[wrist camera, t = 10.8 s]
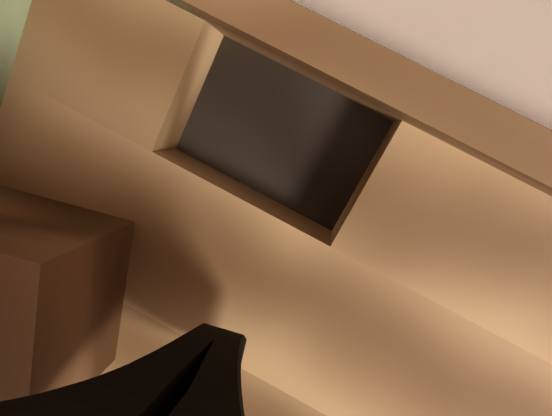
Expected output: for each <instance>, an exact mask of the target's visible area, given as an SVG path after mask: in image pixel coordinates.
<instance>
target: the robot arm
mask: <svg viewBox="0 0 552 416" xmlns="http://www.w3.org/2000/svg"><path fill="white" fill-rule="evenodd" d="M246 341H247V339H246V337H245V336H244V335H243V334H240V333H236V332H233V331H229V330H226V329H223V328H219V327H216V326H213V325H209V324H206V323H203V324H201V325H199V326H197V327H195V328H194V329H192V330H190V331H189V332H187V333H185V334H184V335H182V336H180V337H178V338H177V339H175V340H173V341H172V342H170V343H168V344H166V345H164V346H162V347H161V348H159V349H157V350H155V351H153V352H151V353H149V354H147V355H145V356H143V357H141V358H139V359H137V360H135V361H133V362H131V363H129V364H126V365H124V366H122V367H119V368H117V369H115V370H112V371H110V372H107V373H104V374H101V375H99V376H96V377H93V378H90V379H87V380H84V381H81V382H77V383H74V384H71V385H67V386H64V387H60V388H57V389H53V390H50V391H46V392H42V393H38V394H33V395H29V396H25V397H20V398H15V399H10V400H5V401H0V416H245V414H244V407H243V399H242V387H241V362H242V358H243V354H244V349H245V345H246Z"/></svg>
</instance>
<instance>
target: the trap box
mask: <svg viewBox="0 0 552 416" xmlns="http://www.w3.org/2000/svg"><path fill="white" fill-rule="evenodd" d="M0 185H1V186H5V187H9V188H12V189H16V190H20V191H24V192H27V193H31V194H35V195H38V196H42V197H46V198H49V199H53V200H57V201H61V202H64V203H68V204H72V205H75V206H79V207H83V208H87V209H90V210H94V211H98V212H101V213H105V214H109V215H112V216H116V217H120V218H124V219H127V220H131V221H135V224H134V231H133V238H132V245H131V252H130V259H129V266H128V273H127V280H126V287H125V294H124V301H123V308H122V315H121V322H120V329H119V336H118V343H117V350H116V356H115V360H114V361H113V362H112V363H111V364H110V365H109V366H108V367H107V368H106V369H105V370H104V371H103V372H102V373H101V374H104V373H107V372H110V371H112V370H115V369H117V368H119V367H122V366H124V365H126V364H129V363H131V362H133V361H135V360H137V359H139V358H141V357H143V356H145V355H147V354H149V353H151V352H153V351H155V350H157V349H159V348H161V347H162V346H164V345H166V344H168V343H170V342H172V341H173V340H175V339H177V338H178V337H180V336H182V335H184V334H185V333H187V332H189V331H190V330H192V329H194V328H195V327H197V326H199V325H201V324H203V323H206V324H209V325H213V326H216V327H219V328H223V329H226V330H229V331H233V332H236V333H240V334H243V335H244V336H245V337H246V339H247V341H246V345H245V349H244V354H243V358H242V362H241V387H242V399H243V407H244V414H245V416H552V130H550V129H548V128H546V127H544V126H542V125H540V124H538V123H536V122H534V121H532V120H530V119H528V118H526V117H524V116H521V115H519V114H517V113H515V112H513V111H511V110H509V109H507V108H505V107H503V106H501V105H499V104H497V103H495V102H493V101H491V100H489V99H487V98H485V97H483V96H481V95H479V94H477V93H475V92H473V91H471V90H469V89H467V88H465V87H463V86H461V85H459V84H457V83H455V82H453V81H451V80H449V79H447V78H445V77H443V76H441V75H439V74H437V73H435V72H433V71H431V70H429V69H427V68H425V67H423V66H421V65H419V64H417V63H415V62H413V61H411V60H409V59H407V58H405V57H403V56H401V55H399V54H397V53H395V52H393V51H391V50H389V49H387V48H385V47H383V46H381V45H379V44H377V43H375V42H373V41H371V40H369V39H367V38H365V37H363V36H361V35H359V34H357V33H355V32H353V31H351V30H349V29H347V28H345V27H343V26H341V25H339V24H337V23H335V22H333V21H331V20H329V19H327V18H325V17H323V16H321V15H319V14H317V13H315V12H313V11H311V10H309V9H307V8H305V7H303V6H301V5H299V4H297V3H295V2H293V1H291V0H0ZM101 374H100V375H101Z"/></svg>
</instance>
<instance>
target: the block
mask: <svg viewBox="0 0 552 416" xmlns="http://www.w3.org/2000/svg"><path fill="white" fill-rule="evenodd" d="M134 224H135V221H131V220H127V219H124V218H120V217H116V216H112V215H109V214H105V213H101V212H98V211H94V210H90V209H87V208H83V207H79V206H75V205H72V204H68V203H64V202H61V201H57V200H53V199H49V198H46V197H42V196H38V195H35V194H31V193H27V192H24V191H20V190H16V189H12V188H9V187H5V186H1V185H0V401H5V400H10V399H15V398H20V397H25V396H29V395H33V394H38V393H42V392H46V391H50V390H53V389H57V388H60V387H64V386H67V385H71V384H74V383H77V382H81V381H84V380H87V379H90V378H93V377H96V376H99V375H100V374H101V373H102V372H103V371H104V370H105V369H106V368H107V367H108V366H109V365H110V364H111V363H112V362H113V361H114V360H115V356H116V350H117V343H118V336H119V329H120V322H121V315H122V308H123V301H124V294H125V287H126V280H127V273H128V266H129V259H130V252H131V245H132V238H133V231H134Z"/></svg>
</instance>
